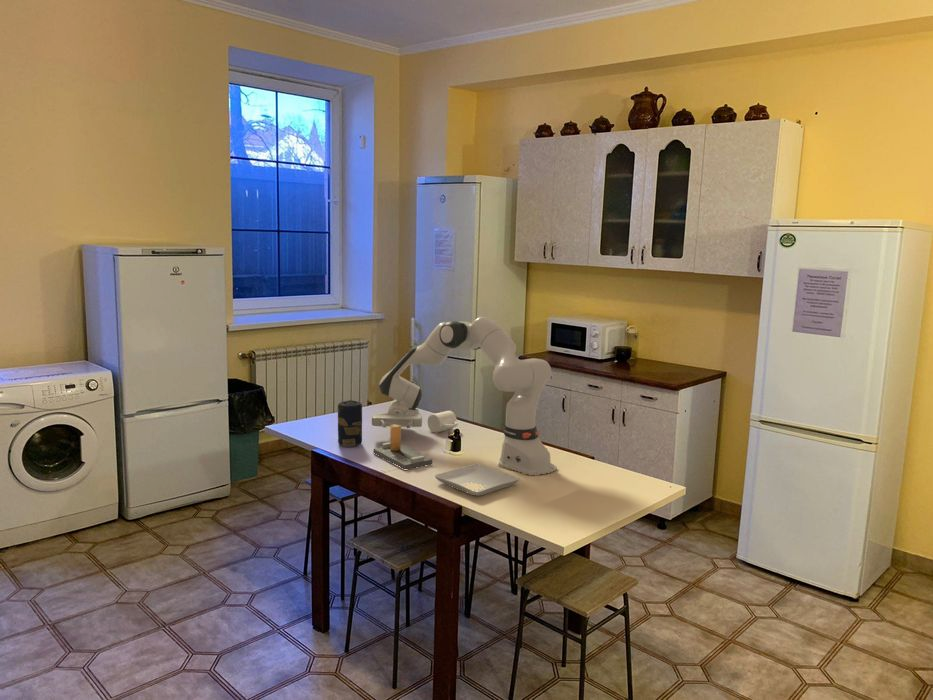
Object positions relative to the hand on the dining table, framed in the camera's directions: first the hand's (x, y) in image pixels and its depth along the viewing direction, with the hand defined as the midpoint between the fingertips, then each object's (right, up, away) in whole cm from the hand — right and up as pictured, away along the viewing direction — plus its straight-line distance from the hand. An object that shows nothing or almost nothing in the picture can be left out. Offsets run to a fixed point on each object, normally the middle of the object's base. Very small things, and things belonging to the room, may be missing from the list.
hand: (396, 425), depth 280 cm
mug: (+19, -5, +23) cm, 30 cm away
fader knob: (+1, -8, -11) cm, 13 cm away
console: (+4, -11, -14) cm, 18 cm away
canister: (-19, -8, +1) cm, 20 cm away
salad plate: (+31, -17, -38) cm, 52 cm away
